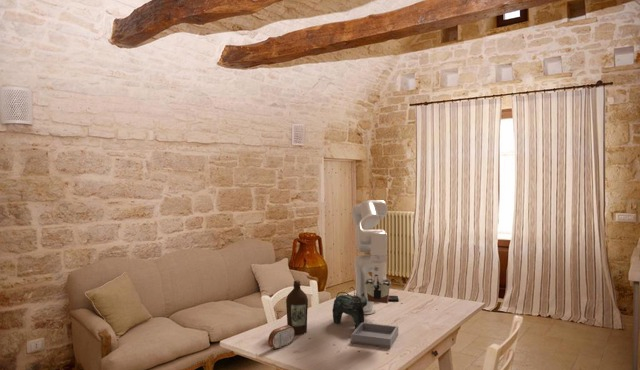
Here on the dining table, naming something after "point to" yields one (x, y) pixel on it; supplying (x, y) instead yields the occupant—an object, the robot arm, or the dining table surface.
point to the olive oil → (297, 309)
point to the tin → (281, 336)
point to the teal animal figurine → (349, 307)
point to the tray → (375, 335)
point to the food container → (383, 288)
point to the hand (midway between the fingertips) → (378, 296)
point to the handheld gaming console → (393, 299)
